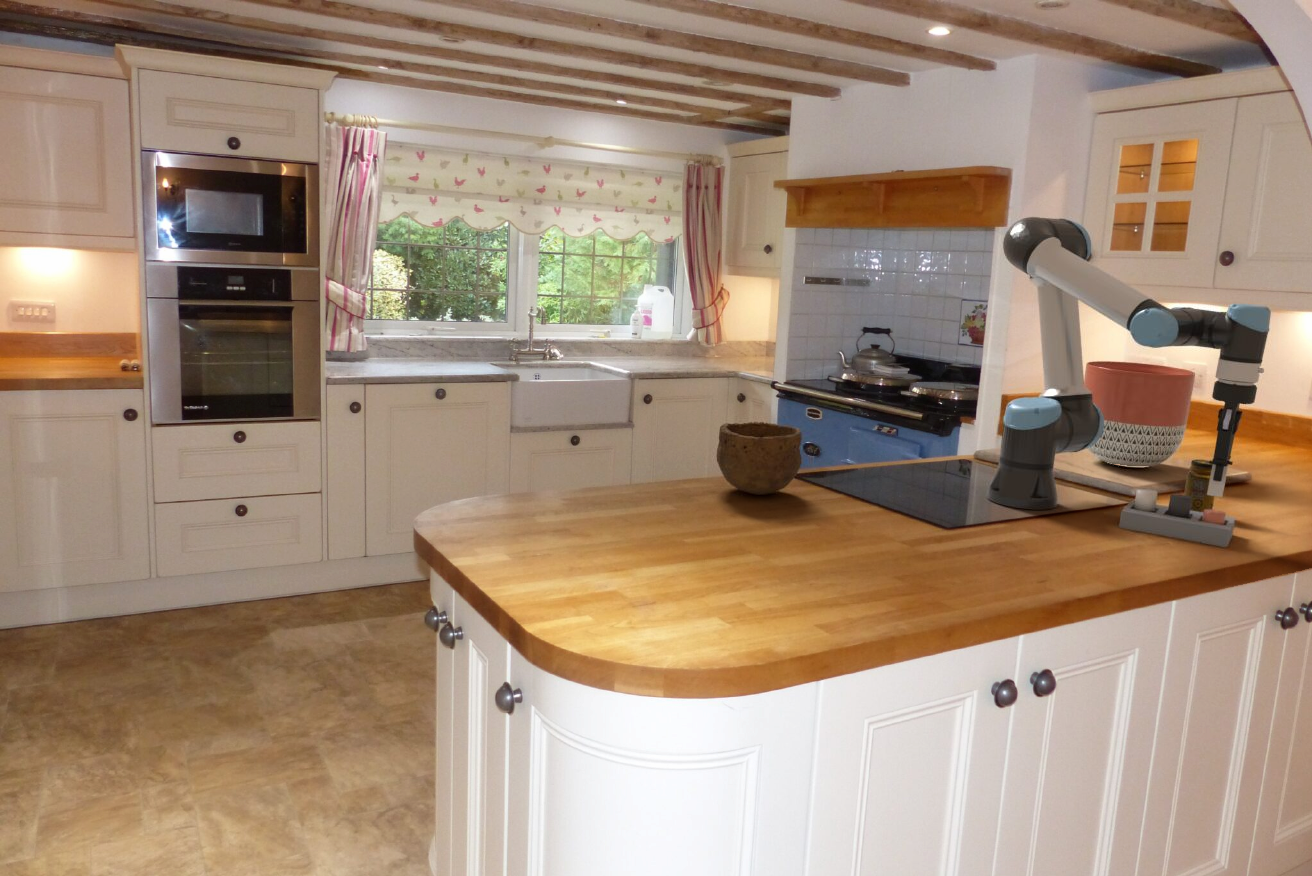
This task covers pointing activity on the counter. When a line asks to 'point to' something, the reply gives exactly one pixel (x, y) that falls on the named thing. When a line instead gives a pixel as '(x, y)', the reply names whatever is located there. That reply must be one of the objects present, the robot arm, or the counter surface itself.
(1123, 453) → the planter
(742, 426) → the bowl
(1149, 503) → the white button
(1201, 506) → the condiment
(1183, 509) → the black button
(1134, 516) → the button board
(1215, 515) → the red button
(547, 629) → the counter surface
